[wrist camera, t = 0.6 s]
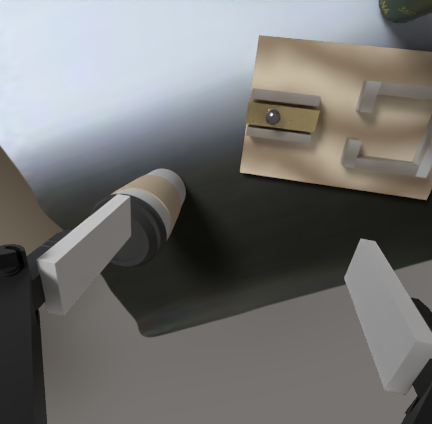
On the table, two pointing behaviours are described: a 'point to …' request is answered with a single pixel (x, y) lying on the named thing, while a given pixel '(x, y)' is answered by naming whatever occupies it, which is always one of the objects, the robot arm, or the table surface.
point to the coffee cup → (149, 215)
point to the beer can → (405, 9)
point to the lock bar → (282, 116)
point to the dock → (345, 116)
